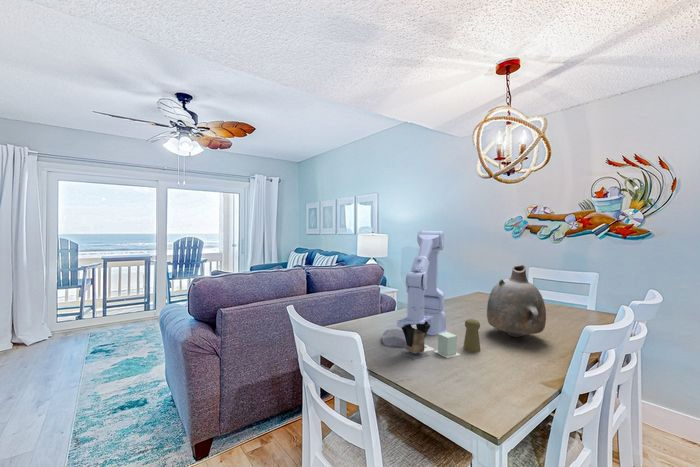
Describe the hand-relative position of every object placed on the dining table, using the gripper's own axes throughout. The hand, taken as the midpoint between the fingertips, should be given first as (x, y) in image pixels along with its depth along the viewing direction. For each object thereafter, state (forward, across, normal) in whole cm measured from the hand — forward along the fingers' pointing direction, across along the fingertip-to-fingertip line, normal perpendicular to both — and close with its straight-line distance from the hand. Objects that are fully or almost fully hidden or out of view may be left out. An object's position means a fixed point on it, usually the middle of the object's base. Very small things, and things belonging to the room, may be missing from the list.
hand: (414, 344), depth 107 cm
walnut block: (+2, 0, 0) cm, 2 cm away
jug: (+4, +49, -5) cm, 49 cm away
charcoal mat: (+3, 0, 0) cm, 3 cm away
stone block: (+4, +1, +13) cm, 14 cm away
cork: (+4, +22, -6) cm, 23 cm away
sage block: (+3, +11, -4) cm, 12 cm away
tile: (+3, +11, -4) cm, 12 cm away
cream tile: (+3, +6, +3) cm, 8 cm away
